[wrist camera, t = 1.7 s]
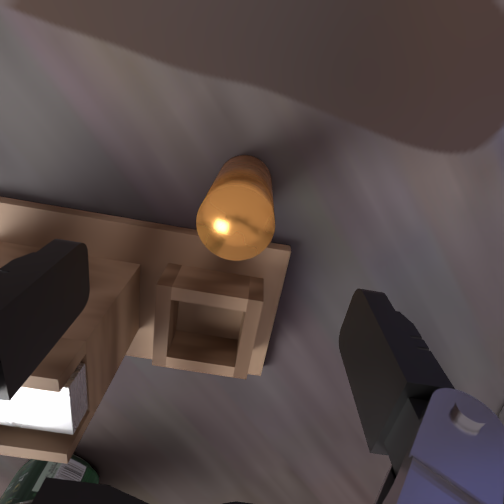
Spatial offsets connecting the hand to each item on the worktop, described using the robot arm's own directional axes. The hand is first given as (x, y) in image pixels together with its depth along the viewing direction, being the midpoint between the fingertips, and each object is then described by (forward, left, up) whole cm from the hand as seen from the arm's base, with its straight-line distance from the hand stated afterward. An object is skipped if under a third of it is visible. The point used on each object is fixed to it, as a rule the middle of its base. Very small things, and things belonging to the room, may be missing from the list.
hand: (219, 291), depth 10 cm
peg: (0, 0, -14) cm, 14 cm away
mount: (+7, +10, -14) cm, 18 cm away
